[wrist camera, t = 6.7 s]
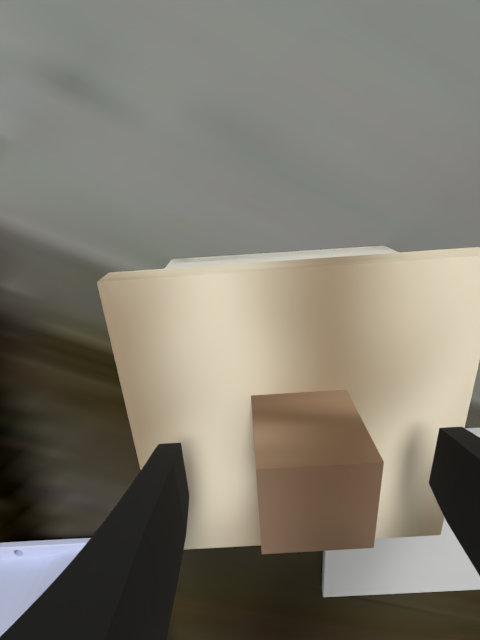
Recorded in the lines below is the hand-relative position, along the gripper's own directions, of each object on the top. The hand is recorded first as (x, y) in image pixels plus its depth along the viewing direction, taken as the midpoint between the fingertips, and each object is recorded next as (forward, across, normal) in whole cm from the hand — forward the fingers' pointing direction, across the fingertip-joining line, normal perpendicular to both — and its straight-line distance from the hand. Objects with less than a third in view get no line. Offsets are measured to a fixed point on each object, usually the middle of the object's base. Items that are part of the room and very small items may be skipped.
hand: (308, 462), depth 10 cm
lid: (+3, 0, 0) cm, 3 cm away
